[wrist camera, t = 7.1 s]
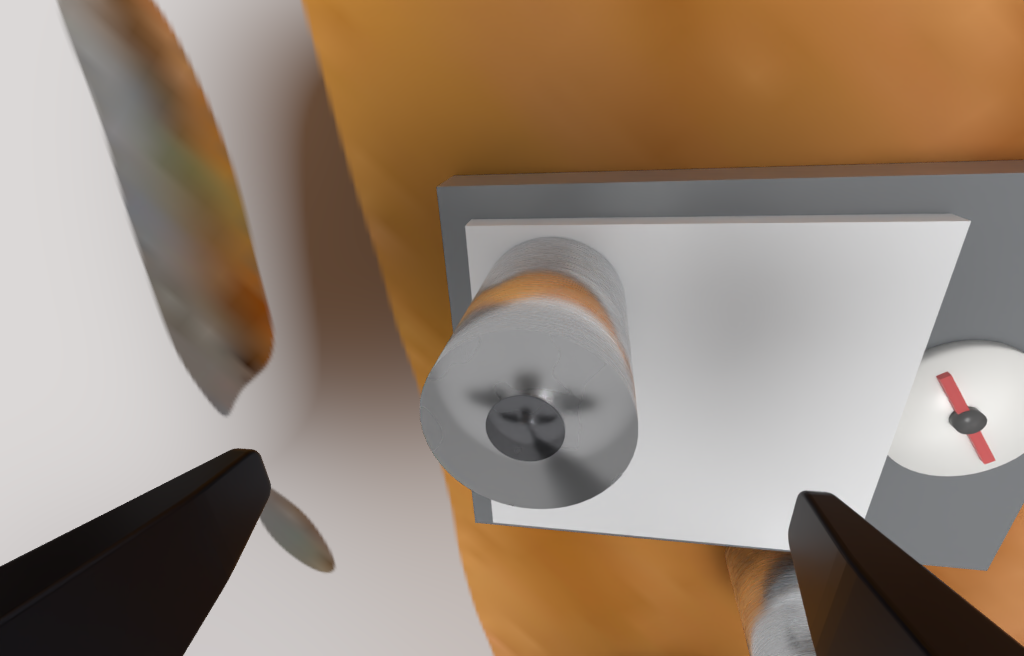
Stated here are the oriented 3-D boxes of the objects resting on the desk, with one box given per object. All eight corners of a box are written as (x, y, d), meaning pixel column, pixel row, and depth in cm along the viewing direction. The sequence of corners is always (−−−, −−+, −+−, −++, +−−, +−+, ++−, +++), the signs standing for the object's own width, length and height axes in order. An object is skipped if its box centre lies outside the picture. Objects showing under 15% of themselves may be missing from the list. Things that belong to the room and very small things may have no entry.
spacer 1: (622, 370, 16) (631, 520, 10) (487, 365, 17) (432, 502, 11) (629, 236, 14) (646, 335, 9) (476, 236, 15) (403, 328, 9)
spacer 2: (821, 593, 22) (890, 754, 17) (718, 582, 23) (753, 732, 18) (845, 522, 20) (930, 679, 15) (732, 513, 21) (775, 659, 16)
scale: (952, 526, 20) (1004, 593, 17) (485, 488, 23) (470, 539, 20) (1125, 156, 14) (1248, 174, 11) (453, 175, 17) (427, 192, 14)
